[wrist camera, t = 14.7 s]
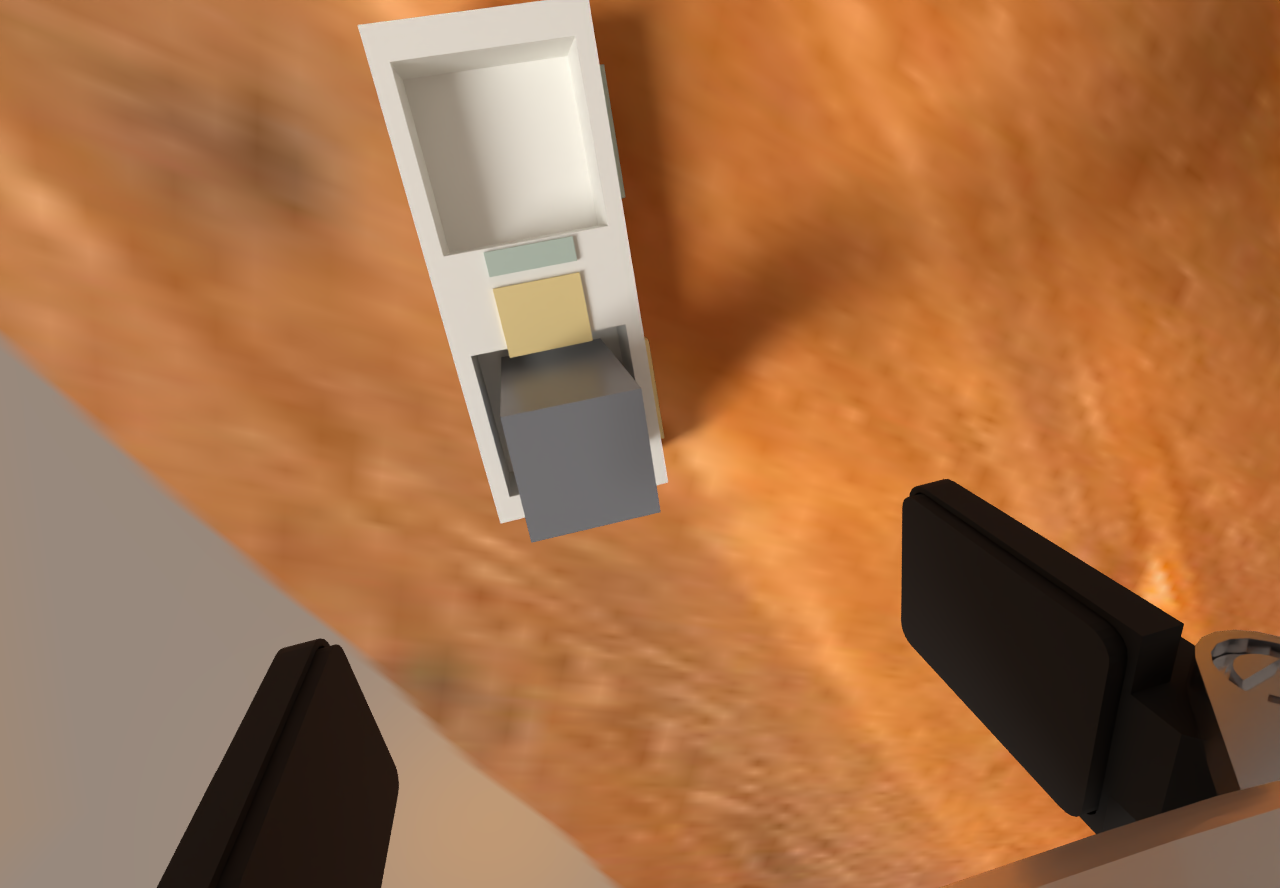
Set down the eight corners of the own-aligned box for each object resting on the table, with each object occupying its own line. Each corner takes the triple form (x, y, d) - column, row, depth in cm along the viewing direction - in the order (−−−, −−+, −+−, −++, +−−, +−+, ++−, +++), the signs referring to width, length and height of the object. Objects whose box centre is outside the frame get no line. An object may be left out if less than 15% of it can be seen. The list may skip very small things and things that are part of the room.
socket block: (581, 27, 22) (595, -9, 18) (653, 451, 28) (674, 483, 25) (380, 55, 21) (356, 23, 17) (500, 487, 27) (500, 525, 24)
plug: (600, 338, 25) (641, 388, 17) (616, 429, 26) (660, 511, 19) (501, 357, 24) (500, 417, 17) (523, 449, 26) (531, 542, 18)
